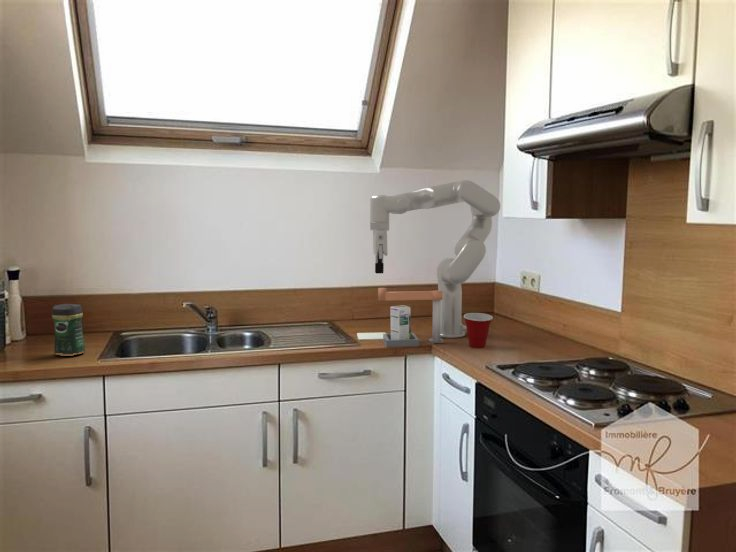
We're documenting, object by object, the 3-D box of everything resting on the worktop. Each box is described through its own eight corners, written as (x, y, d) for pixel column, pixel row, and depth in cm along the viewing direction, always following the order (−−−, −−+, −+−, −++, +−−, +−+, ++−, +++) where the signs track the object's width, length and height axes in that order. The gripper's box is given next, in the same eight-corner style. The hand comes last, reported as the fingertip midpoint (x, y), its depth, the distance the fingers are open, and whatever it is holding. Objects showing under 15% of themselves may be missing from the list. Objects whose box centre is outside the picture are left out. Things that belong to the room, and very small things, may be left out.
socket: (439, 338, 234) (439, 298, 232) (445, 345, 222) (446, 302, 220) (383, 340, 233) (383, 299, 231) (386, 347, 220) (386, 304, 219)
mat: (385, 333, 245) (385, 332, 245) (388, 339, 234) (388, 338, 234) (356, 333, 245) (356, 333, 245) (358, 340, 233) (358, 339, 233)
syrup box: (398, 345, 223) (398, 307, 221) (390, 342, 228) (390, 305, 226) (411, 343, 226) (411, 306, 224) (402, 340, 231) (402, 304, 229)
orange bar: (441, 298, 228) (441, 286, 228) (443, 300, 224) (443, 288, 224) (377, 299, 227) (377, 287, 226) (378, 301, 222) (378, 289, 222)
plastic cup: (470, 351, 213) (471, 318, 212) (458, 344, 224) (458, 313, 222) (497, 348, 216) (498, 316, 215) (484, 342, 227) (484, 312, 225)
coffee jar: (89, 352, 214) (86, 302, 212) (74, 358, 207) (71, 306, 205) (65, 351, 216) (62, 302, 214) (50, 357, 208) (47, 305, 206)
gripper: (391, 227, 223) (390, 275, 225) (387, 226, 238) (386, 271, 240) (371, 227, 223) (371, 275, 225) (368, 226, 238) (368, 271, 240)
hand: (379, 273), depth 232 cm, fingers closed
